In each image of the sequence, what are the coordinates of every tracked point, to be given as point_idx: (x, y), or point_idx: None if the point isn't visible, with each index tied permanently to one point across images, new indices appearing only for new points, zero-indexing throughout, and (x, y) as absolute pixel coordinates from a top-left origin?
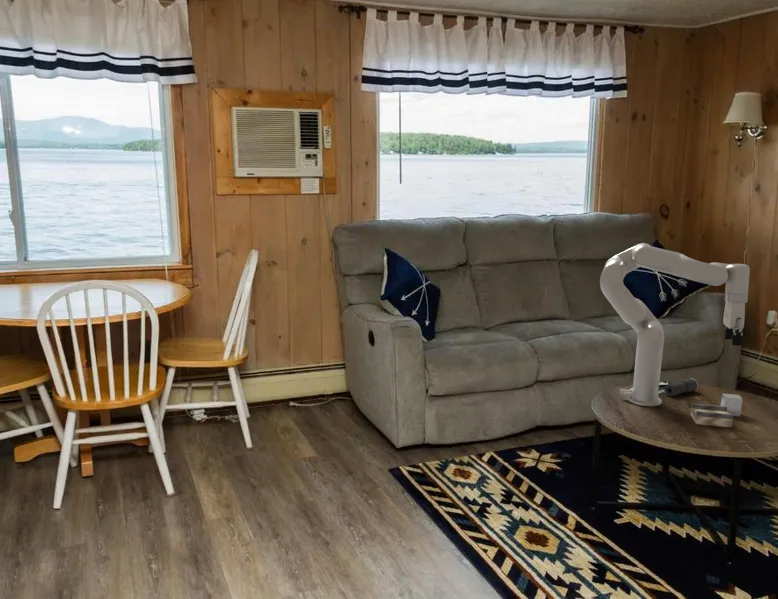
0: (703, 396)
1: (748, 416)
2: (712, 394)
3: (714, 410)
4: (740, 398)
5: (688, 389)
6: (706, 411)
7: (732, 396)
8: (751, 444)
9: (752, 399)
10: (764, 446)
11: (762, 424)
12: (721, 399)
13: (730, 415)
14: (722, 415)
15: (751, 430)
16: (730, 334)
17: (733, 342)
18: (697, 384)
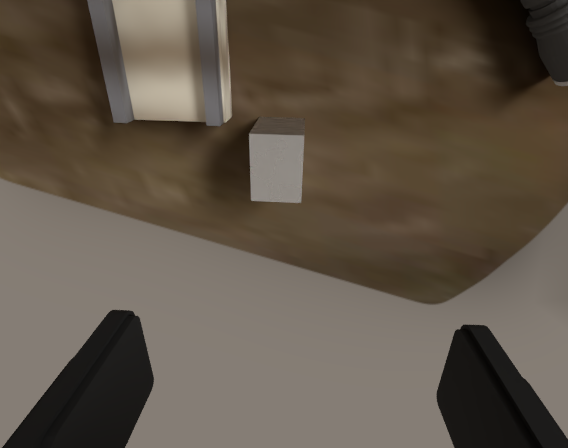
0: (479, 96)
1: None
2: (505, 142)
3: (200, 70)
4: (252, 194)
5: (527, 24)
6: (173, 27)
7: (271, 169)
8: (2, 132)
9: (446, 262)
10: (9, 166)
11: (204, 218)
12: (302, 128)
13: (111, 111)
14: (107, 79)
15: (133, 169)
16: (469, 428)
17: (94, 344)
18: (566, 82)
